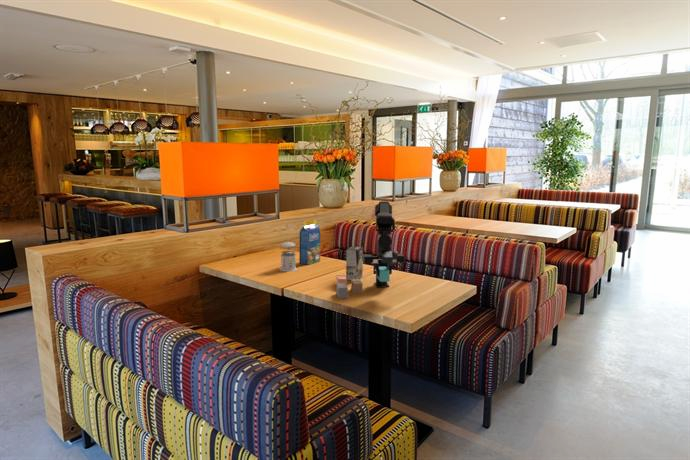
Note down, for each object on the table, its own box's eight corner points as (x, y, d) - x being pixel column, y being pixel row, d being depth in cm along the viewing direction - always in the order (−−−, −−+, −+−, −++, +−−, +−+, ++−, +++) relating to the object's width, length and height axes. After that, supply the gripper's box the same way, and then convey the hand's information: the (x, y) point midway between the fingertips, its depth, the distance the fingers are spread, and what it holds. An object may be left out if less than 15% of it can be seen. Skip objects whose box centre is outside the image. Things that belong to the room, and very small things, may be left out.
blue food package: (299, 263, 263) (299, 221, 259) (312, 259, 273) (312, 218, 269) (307, 265, 260) (307, 222, 255) (320, 261, 270) (320, 219, 265)
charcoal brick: (336, 294, 209) (336, 283, 208) (344, 293, 209) (345, 283, 209) (338, 298, 202) (338, 288, 201) (347, 298, 203) (347, 287, 202)
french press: (293, 266, 257) (293, 222, 253) (300, 271, 247) (300, 226, 242) (277, 267, 253) (276, 223, 248) (283, 273, 242) (283, 227, 238)
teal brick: (376, 277, 206) (377, 266, 205) (385, 277, 207) (385, 266, 206) (380, 281, 199) (380, 270, 198) (389, 281, 200) (389, 270, 199)
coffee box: (357, 281, 229) (358, 250, 227) (345, 279, 231) (346, 249, 229) (362, 276, 238) (363, 246, 235) (351, 275, 240) (351, 245, 237)
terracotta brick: (336, 285, 223) (336, 275, 222) (344, 284, 223) (344, 275, 222) (338, 289, 216) (338, 279, 215) (346, 289, 217) (346, 278, 216)
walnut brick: (351, 289, 216) (351, 279, 215) (359, 289, 217) (359, 279, 216) (353, 294, 209) (354, 283, 208) (362, 293, 210) (362, 283, 209)
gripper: (367, 247, 191) (366, 282, 194) (409, 246, 194) (408, 281, 197) (362, 242, 202) (361, 275, 204) (402, 241, 205) (401, 274, 207)
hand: (383, 277), depth 203 cm, fingers closed on teal brick, 4 cm apart
